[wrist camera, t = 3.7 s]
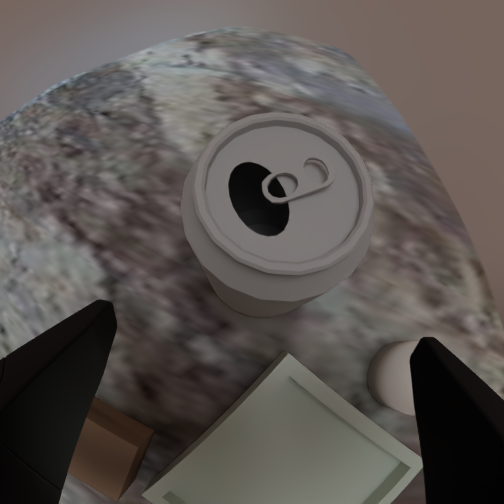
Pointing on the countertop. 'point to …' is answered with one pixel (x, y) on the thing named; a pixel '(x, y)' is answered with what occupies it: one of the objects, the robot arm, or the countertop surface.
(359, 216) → the can
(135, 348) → the countertop surface
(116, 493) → the walnut block
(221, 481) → the tray
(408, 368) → the off-white egg
